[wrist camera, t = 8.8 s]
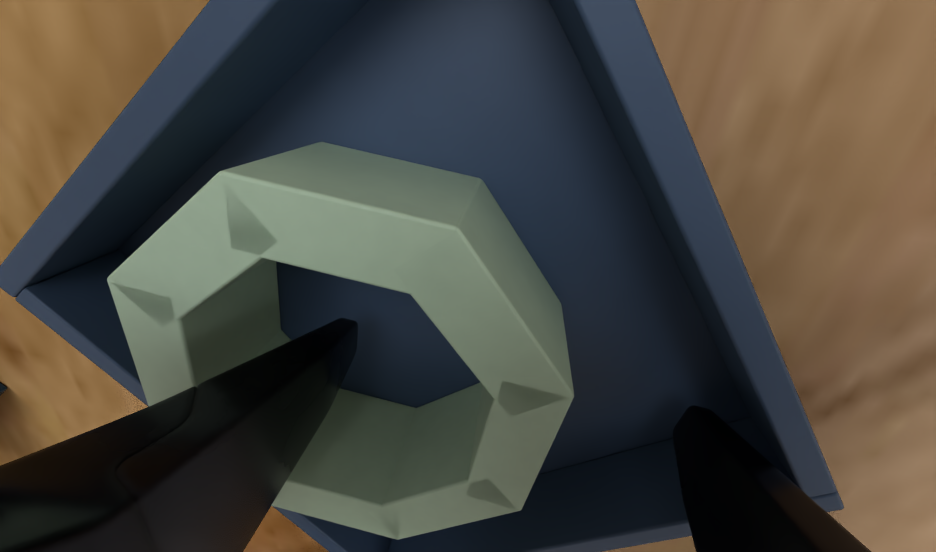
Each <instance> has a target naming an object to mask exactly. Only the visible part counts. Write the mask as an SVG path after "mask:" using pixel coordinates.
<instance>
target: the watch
mask: <svg viewBox="0 0 936 552" xmlns="http://www.w3.org/2000/svg"><path fill="white" fill-rule="evenodd" d="M6 389H7V387H5V386H4V385H2V384H1V383H0V395H1V394H2V393H3V392H4V391H5V390H6Z"/></svg>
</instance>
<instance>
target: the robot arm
mask: <svg viewBox="0 0 936 552" xmlns="http://www.w3.org/2000/svg"><path fill="white" fill-rule="evenodd" d="M357 339H358V323H357V322H356V321H354V320H350V319H346V318H339V319H336V320H334V321H332V322H330V323H328V324H326V325H324V326H322V327H319V328H317V329H315V330H313V331H311V332H309V333H307V334H304V335H302V336H300V337H298V338H296V339H294V340H292V341H289V342H287V343H285V344H283V345H281V346H279V347H277V348H274V349H272V350H270V351H268V352H266V353H264V354H262V355H260V356H257V357H255V358H253V359H251V360H249V361H247V362H245V363H242V364H240V365H238V366H236V367H234V368H232V369H230V370H227V371H225V372H223V373H221V374H219V375H217V376H215V377H212V378H210V379H208V380H206V381H204V382H202V383H200V384H198V385H197V387H196V386H193V387H191V388H189V389H187V390H184V391H182V392H180V393H178V394H176V395H174V396H171V397H169V398H167V399H165V400H163V401H160V402H158V403H156V404H154V405H151V406H149V407H147V408H145V409H142V410H140V411H138V412H135V413H133V414H130V415H128V416H125V417H123V418H120V419H118V420H116V421H113V422H111V423H108V424H106V425H103V426H101V427H98V428H96V429H93V430H91V431H88V432H85V433H83V434H80V435H78V436H75V437H73V438H70V439H68V440H65V441H63V442H60V443H57V444H55V445H52V446H50V447H47V448H45V449H42V450H40V451H37V452H35V453H32V454H30V455H27V456H24V457H22V458H19V459H17V460H14V461H12V462H9V463H7V464H4V465H1V466H0V552H243V551H244V549H245V548H246V546H247V544H248V543H249V541H250V539H251V538H252V536H253V535H254V533H255V531H256V530H257V528H258V526H259V525H260V523H261V521H262V520H263V518H264V517H265V515H266V513H267V512H268V510H269V508H270V507H271V505H272V504H273V502H274V500H275V499H276V497H277V495H278V494H279V492H280V490H281V489H282V487H283V486H284V484H285V482H286V481H287V479H288V477H289V476H290V474H291V472H292V471H293V469H294V468H295V466H296V464H297V463H298V461H299V459H300V458H301V456H302V454H303V453H304V451H305V450H306V448H307V446H308V445H309V443H310V441H311V440H312V438H313V437H314V435H315V433H316V432H317V430H318V428H319V427H320V425H321V423H322V422H323V420H324V418H325V417H326V415H327V413H328V412H329V410H330V408H331V406H332V404H333V402H334V399H335V397H336V395H337V393H338V391H339V389H340V387H341V384H342V382H343V380H344V378H345V376H346V374H347V371H348V369H349V367H350V365H351V363H352V361H353V359H354V356H355V354H356V350H357ZM673 443H674V449H675V455H676V461H677V467H678V474H679V480H680V486H681V492H682V497H683V502H684V507H685V511H686V515H687V519H688V522H689V526H690V530H691V534H692V537H693V541H694V545H695V549H696V552H871V551H870V550H869V549H868V548H866V547H865V546H864V545H863V544H862V543H861V542H860V541H859V540H857V539H856V538H855V537H854V536H853V535H852V534H851V533H850V532H848V531H847V530H846V529H845V528H844V527H843V526H842V525H841V524H839V523H838V522H837V521H836V520H835V519H834V518H833V517H831V516H830V515H829V514H828V513H827V512H826V511H825V510H824V509H822V508H821V507H820V506H819V505H818V504H817V503H816V502H815V501H813V500H812V499H811V498H810V497H809V496H808V495H807V494H806V493H804V492H803V491H802V490H801V489H800V488H799V487H798V486H796V485H795V484H794V483H793V482H792V481H791V480H790V479H789V478H787V477H786V476H785V475H784V474H783V473H782V472H781V471H780V470H778V469H777V468H776V467H775V466H774V465H773V464H772V463H771V462H769V461H768V460H767V459H766V458H765V457H764V456H763V455H762V454H760V453H759V452H758V451H757V450H756V449H755V448H754V447H753V446H751V445H750V444H749V443H748V442H747V441H746V440H745V439H743V438H742V437H741V436H740V435H739V434H738V433H737V432H736V431H734V430H733V429H732V428H731V427H730V426H729V425H728V424H727V423H725V422H724V421H723V420H722V419H721V418H720V417H719V416H718V415H716V414H715V413H714V412H713V411H712V410H710V409H708V408H704V407H700V406H696V405H691V406H689V407H688V408H687V409H686V411H685V412H684V414H683V415H682V417H681V418H680V420H679V421H678V422H677V424H676V425H675V427H674V430H673Z"/></svg>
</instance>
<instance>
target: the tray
mask: <svg viewBox="0 0 936 552" xmlns="http://www.w3.org/2000/svg"><path fill="white" fill-rule="evenodd" d="M318 142H325V143H329V144H334V145H338V146H342V147H347V148H351V149H355V150H360V151H364V152H368V153H373V154H377V155H381V156H386V157H390V158H394V159H399V160H403V161H407V162H412V163H416V164H420V165H425V166H429V167H433V168H438V169H442V170H446V171H451V172H455V173H459V174H464V175H468V176H472V177H477V178H480V179H482V180H483V181H484V183H485V185H486V186H487V188H488V189H489V191H490V192H491V194H492V196H493V197H494V199H495V200H496V202H497V203H498V205H499V207H500V208H501V210H502V211H503V213H504V214H505V216H506V218H507V219H508V221H509V222H510V224H511V225H512V227H513V229H514V230H515V232H516V233H517V235H518V236H519V238H520V240H521V241H522V243H523V244H524V246H525V247H526V249H527V251H528V252H529V254H530V255H531V257H532V258H533V260H534V262H535V263H536V265H537V266H538V268H539V269H540V271H541V273H542V274H543V276H544V277H545V279H546V280H547V282H548V284H549V285H550V287H551V288H552V290H553V291H554V293H555V295H556V296H557V298H558V299H559V301H560V302H561V305H562V312H563V319H564V326H565V333H566V341H567V348H568V355H569V362H570V369H571V376H572V383H573V390H574V398H573V400H572V402H571V404H570V406H569V409H568V411H567V413H566V415H565V417H564V419H563V421H562V424H561V426H560V428H559V430H558V432H557V434H556V436H555V439H554V441H553V443H552V445H551V447H550V449H549V452H548V454H547V456H546V458H545V460H544V462H543V464H542V467H541V469H540V471H539V473H538V475H537V477H536V479H535V482H534V484H533V486H532V488H531V490H530V492H529V495H528V497H527V499H526V501H525V503H524V505H523V507H522V510H521V511H517V512H512V513H508V514H504V515H500V516H495V517H491V518H487V519H483V520H479V521H474V522H470V523H466V524H462V525H458V526H453V527H449V528H445V529H441V530H437V531H432V532H428V533H424V534H420V535H415V536H411V537H407V538H403V539H399V540H396V539H393V538H389V537H385V536H382V535H378V534H374V533H371V532H367V531H363V530H360V529H356V528H352V527H348V526H345V525H341V524H337V523H334V522H330V521H326V520H323V519H319V518H315V517H312V516H308V515H304V514H301V513H297V512H293V511H290V510H286V509H282V508H279V507H275V506H273V507H274V508H276V509H277V510H278V511H279V512H281V513H282V514H283V515H284V516H286V517H287V518H288V519H289V520H291V521H292V522H293V523H294V524H296V525H297V526H298V527H299V528H301V529H302V530H303V531H304V532H306V533H307V534H308V535H309V536H310V537H312V538H313V539H314V540H315V541H317V542H318V543H319V544H320V545H322V546H323V547H324V548H325V549H327V550H328V551H329V552H602V551H607V550H613V549H619V548H625V547H630V546H636V545H642V544H647V543H653V542H659V541H664V540H670V539H676V538H682V537H687V536H692V534H691V530H690V526H689V522H688V519H687V515H686V511H685V507H684V502H683V497H682V492H681V486H680V480H679V474H678V467H677V461H676V455H675V449H674V443H673V430H674V427H675V425H676V424H677V422H678V421H679V420H680V418H681V417H682V415H683V414H684V412H685V411H686V409H687V408H688V407H689V406H691V405H696V406H700V407H704V408H708V409H710V410H712V411H713V412H714V413H715V414H716V415H718V416H719V417H720V418H721V419H722V420H723V421H724V422H725V423H727V424H728V425H729V426H730V427H731V428H732V429H733V430H734V431H736V432H737V433H738V434H739V435H740V436H741V437H742V438H743V439H745V440H746V441H747V442H748V443H749V444H750V445H751V446H753V447H754V448H755V449H756V450H757V451H758V452H759V453H760V454H762V455H763V456H764V457H765V458H766V459H767V460H768V461H769V462H771V463H772V464H773V465H774V466H775V467H776V468H777V469H778V470H780V471H781V472H782V473H783V474H784V475H785V476H786V477H787V478H789V479H790V480H791V481H792V482H793V483H794V484H795V485H796V486H798V487H799V488H800V489H801V490H802V491H803V492H804V493H806V494H807V495H808V496H809V497H810V498H811V499H812V500H813V501H815V502H816V503H817V504H818V505H819V506H820V507H821V508H822V509H824V510H825V511H826V512H830V511H836V510H841V509H843V508H844V506H843V503H842V501H841V498H840V496H839V493H838V491H837V489H836V486H835V484H834V481H833V479H832V476H831V474H830V471H829V469H828V467H827V464H826V462H825V459H824V457H823V454H822V452H821V450H820V447H819V445H818V442H817V440H816V437H815V435H814V433H813V430H812V428H811V425H810V423H809V421H808V418H807V416H806V413H805V411H804V408H803V406H802V404H801V401H800V399H799V396H798V394H797V391H796V389H795V387H794V384H793V382H792V379H791V377H790V374H789V372H788V370H787V367H786V365H785V362H784V360H783V357H782V355H781V353H780V350H779V348H778V345H777V343H776V341H775V338H774V336H773V333H772V331H771V328H770V326H769V324H768V321H767V319H766V316H765V314H764V311H763V309H762V307H761V304H760V302H759V299H758V297H757V294H756V292H755V290H754V287H753V285H752V282H751V280H750V277H749V275H748V273H747V270H746V268H745V265H744V263H743V261H742V258H741V256H740V253H739V251H738V248H737V246H736V244H735V241H734V239H733V236H732V234H731V231H730V229H729V227H728V224H727V222H726V219H725V217H724V214H723V212H722V210H721V207H720V205H719V202H718V200H717V197H716V195H715V193H714V190H713V188H712V185H711V183H710V181H709V178H708V176H707V173H706V171H705V168H704V166H703V164H702V161H701V159H700V156H699V154H698V151H697V149H696V147H695V144H694V142H693V139H692V137H691V134H690V132H689V130H688V127H687V125H686V122H685V120H684V117H683V115H682V113H681V110H680V108H679V105H678V103H677V100H676V98H675V96H674V93H673V91H672V88H671V86H670V84H669V81H668V79H667V76H666V74H665V71H664V69H663V67H662V64H661V62H660V59H659V57H658V54H657V52H656V50H655V47H654V45H653V42H652V40H651V37H650V35H649V33H648V30H647V28H646V25H645V23H644V20H643V18H642V16H641V13H640V11H639V8H638V6H637V4H636V1H635V0H210V1H209V2H208V3H207V5H206V6H205V7H204V8H203V10H202V11H201V12H200V13H199V15H198V16H197V17H196V19H195V20H194V21H193V22H192V24H191V25H190V26H189V27H188V29H187V30H186V31H185V32H184V34H183V35H182V36H181V38H180V39H179V40H178V41H177V43H176V44H175V45H174V46H173V48H172V49H171V50H170V51H169V53H168V54H167V55H166V57H165V58H164V59H163V60H162V62H161V63H160V64H159V65H158V67H157V68H156V69H155V70H154V72H153V73H152V74H151V76H150V77H149V78H148V79H147V81H146V82H145V83H144V84H143V86H142V87H141V88H140V89H139V91H138V92H137V93H136V95H135V96H134V97H133V98H132V100H131V101H130V102H129V103H128V105H127V106H126V107H125V108H124V110H123V111H122V112H121V114H120V115H119V116H118V117H117V119H116V120H115V121H114V122H113V124H112V125H111V126H110V127H109V129H108V130H107V131H106V133H105V134H104V135H103V136H102V138H101V139H100V140H99V141H98V143H97V144H96V145H95V146H94V148H93V149H92V150H91V152H90V153H89V154H88V155H87V157H86V158H85V159H84V160H83V162H82V163H81V164H80V165H79V167H78V168H77V169H76V171H75V172H74V173H73V174H72V176H71V177H70V178H69V179H68V181H67V182H66V183H65V184H64V186H63V187H62V188H61V190H60V191H59V192H58V193H57V195H56V196H55V197H54V198H53V200H52V201H51V202H50V203H49V205H48V206H47V207H46V209H45V210H44V211H43V212H42V214H41V215H40V216H39V217H38V219H37V220H36V221H35V222H34V224H33V225H32V226H31V228H30V229H29V230H28V231H27V233H26V234H25V235H24V236H23V238H22V239H21V240H20V241H19V243H18V244H17V245H16V247H15V248H14V249H13V250H12V252H11V253H10V254H9V255H8V257H7V258H6V259H5V260H4V262H3V263H2V264H1V266H0V287H1V288H2V289H3V290H4V291H6V292H7V293H8V294H9V295H11V296H12V297H16V298H15V299H16V301H17V302H19V303H20V304H21V305H22V306H24V307H25V308H26V309H27V310H29V311H30V312H31V313H32V314H34V315H35V316H36V317H37V318H39V319H40V320H41V321H42V322H44V323H45V324H46V325H47V326H49V327H50V328H51V329H52V330H54V331H55V332H56V333H57V334H59V335H60V336H61V337H62V338H63V339H65V340H66V341H67V342H68V343H70V344H71V345H72V346H73V347H75V348H76V349H77V350H78V351H80V352H81V353H82V354H83V355H85V356H86V357H87V358H88V359H90V360H91V361H92V362H93V363H95V364H96V365H97V366H98V367H100V368H101V369H102V370H103V371H105V372H106V373H107V374H108V375H110V376H111V377H112V378H113V379H115V380H116V381H117V382H118V383H120V384H121V385H122V386H123V387H125V388H126V389H127V390H128V391H130V392H131V393H132V394H133V395H135V396H136V397H137V398H138V399H140V400H141V401H142V402H143V403H145V404H146V405H147V406H148V403H147V400H146V397H145V394H144V391H143V388H142V385H141V382H140V379H139V376H138V372H137V369H136V366H135V363H134V360H133V357H132V354H131V351H130V348H129V345H128V342H127V339H126V336H125V333H124V330H123V327H122V324H121V321H120V318H119V315H118V312H117V309H116V306H115V303H114V300H113V297H112V294H111V291H110V288H109V285H108V282H107V278H108V277H109V275H111V274H112V273H113V272H114V271H115V270H116V269H117V268H118V267H119V266H120V265H121V264H122V263H123V262H124V261H125V260H126V259H127V258H128V257H130V256H131V255H132V254H133V253H134V252H135V251H136V250H137V249H138V248H139V247H140V246H141V245H142V244H143V243H144V242H145V241H146V240H147V239H149V238H150V237H151V236H152V235H153V234H154V233H155V232H156V231H157V230H158V229H159V228H160V227H161V226H162V225H163V224H164V223H165V222H166V221H168V220H169V219H170V218H171V217H172V216H173V215H174V214H175V213H176V212H177V211H178V210H179V209H180V208H181V207H182V206H183V205H184V204H185V203H187V202H188V201H189V200H190V199H191V198H192V197H193V196H194V195H195V194H196V193H197V192H198V191H199V190H200V189H201V188H202V187H203V186H204V185H206V184H207V183H208V182H209V181H210V180H211V179H212V178H213V177H214V176H215V175H216V174H217V173H218V172H219V171H222V170H226V169H229V168H233V167H236V166H240V165H243V164H246V163H250V162H253V161H257V160H260V159H264V158H267V157H270V156H274V155H277V154H281V153H284V152H287V151H291V150H294V149H298V148H301V147H305V146H308V145H311V144H315V143H318ZM276 266H277V280H278V294H279V309H280V323H281V330H282V331H283V332H284V333H285V334H286V335H287V336H288V337H289V338H290V339H291V340H294V339H296V338H298V337H300V336H302V335H304V334H307V333H309V332H311V331H313V330H315V329H317V328H319V327H322V326H324V325H326V324H328V323H330V322H332V321H334V320H336V319H339V318H346V319H350V320H354V321H356V322H357V323H358V339H357V350H356V354H355V356H354V359H353V361H352V363H351V365H350V367H349V369H348V371H347V374H346V376H345V378H344V380H343V382H342V384H341V387H340V389H344V390H348V391H352V392H356V393H360V394H364V395H368V396H371V397H375V398H379V399H383V400H387V401H391V402H395V403H399V404H403V405H406V406H410V407H414V408H418V407H420V406H423V405H425V404H428V403H430V402H433V401H435V400H438V399H440V398H443V397H445V396H448V395H450V394H453V393H455V392H458V391H460V390H463V389H465V388H468V387H470V386H473V385H475V384H477V383H480V381H479V380H478V378H477V377H476V376H475V375H474V373H473V372H472V371H471V370H470V368H469V367H468V366H467V365H466V363H465V362H464V361H463V360H462V358H461V357H460V356H459V355H458V353H457V352H456V351H455V350H454V348H453V347H452V346H451V345H450V343H449V342H448V341H447V339H446V338H445V337H444V336H443V334H442V333H441V332H440V331H439V329H438V328H437V327H436V326H435V324H434V323H433V322H432V321H431V319H430V318H429V317H428V316H427V314H426V313H425V312H424V311H423V309H422V308H421V307H420V306H419V304H418V303H417V302H416V301H415V299H414V298H413V297H412V296H411V294H408V293H404V292H400V291H395V290H391V289H387V288H383V287H379V286H375V285H371V284H367V283H363V282H359V281H355V280H351V279H346V278H342V277H338V276H334V275H330V274H326V273H322V272H318V271H314V270H310V269H306V268H302V267H297V266H293V265H289V264H285V263H281V262H277V261H276ZM148 407H149V406H148Z"/></svg>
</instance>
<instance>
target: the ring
mask: <svg viewBox="0 0 936 552" xmlns="http://www.w3.org/2000/svg"><path fill="white" fill-rule="evenodd" d="M276 261H277V262H281V263H285V264H289V265H293V266H297V267H302V268H306V269H310V270H314V271H318V272H322V273H326V274H330V275H334V276H338V277H342V278H346V279H351V280H355V281H359V282H363V283H367V284H371V285H375V286H379V287H383V288H387V289H391V290H395V291H400V292H404V293H408V294H411V296H412V297H413V298H414V299H415V301H416V302H417V303H418V304H419V306H420V307H421V308H422V309H423V311H424V312H425V313H426V314H427V316H428V317H429V318H430V319H431V321H432V322H433V323H434V324H435V326H436V327H437V328H438V329H439V331H440V332H441V333H442V334H443V336H444V337H445V338H446V339H447V341H448V342H449V343H450V345H451V346H452V347H453V348H454V350H455V351H456V352H457V353H458V355H459V356H460V357H461V358H462V360H463V361H464V362H465V363H466V365H467V366H468V367H469V368H470V370H471V371H472V372H473V373H474V375H475V376H476V377H477V378H478V380H479V381H480V383H477V384H475V385H473V386H470V387H468V388H465V389H463V390H460V391H458V392H455V393H453V394H450V395H448V396H445V397H443V398H440V399H438V400H435V401H433V402H430V403H428V404H425V405H423V406H420V407H418V408H414V407H410V406H406V405H403V404H399V403H395V402H391V401H387V400H383V399H379V398H375V397H371V396H368V395H364V394H360V393H356V392H352V391H348V390H344V389H339V391H338V393H337V395H336V397H335V399H334V402H333V404H332V406H331V408H330V410H329V412H328V413H327V415H326V417H325V418H324V420H323V422H322V423H321V425H320V427H319V428H318V430H317V432H316V433H315V435H314V437H313V438H312V440H311V441H310V443H309V445H308V446H307V448H306V450H305V451H304V453H303V454H302V456H301V458H300V459H299V461H298V463H297V464H296V466H295V468H294V469H293V471H292V472H291V474H290V476H289V477H288V479H287V481H286V482H285V484H284V486H283V487H282V489H281V490H280V492H279V494H278V495H277V497H276V499H275V500H274V502H273V504H272V505H271V506H275V507H279V508H282V509H286V510H290V511H293V512H297V513H301V514H304V515H308V516H312V517H315V518H319V519H323V520H326V521H330V522H334V523H337V524H341V525H345V526H348V527H352V528H356V529H360V530H363V531H367V532H371V533H374V534H378V535H382V536H385V537H389V538H393V539H396V540H399V539H403V538H407V537H411V536H415V535H420V534H424V533H428V532H432V531H437V530H441V529H445V528H449V527H453V526H458V525H462V524H466V523H470V522H474V521H479V520H483V519H487V518H491V517H495V516H500V515H504V514H508V513H512V512H517V511H521V510H522V507H523V505H524V503H525V501H526V499H527V497H528V495H529V492H530V490H531V488H532V486H533V484H534V482H535V479H536V477H537V475H538V473H539V471H540V469H541V467H542V464H543V462H544V460H545V458H546V456H547V454H548V452H549V449H550V447H551V445H552V443H553V441H554V439H555V436H556V434H557V432H558V430H559V428H560V426H561V424H562V421H563V419H564V417H565V415H566V413H567V411H568V409H569V406H570V404H571V402H572V400H573V398H574V390H573V383H572V376H571V369H570V362H569V355H568V348H567V341H566V333H565V326H564V319H563V312H562V305H561V302H560V301H559V299H558V298H557V296H556V295H555V293H554V291H553V290H552V288H551V287H550V285H549V284H548V282H547V280H546V279H545V277H544V276H543V274H542V273H541V271H540V269H539V268H538V266H537V265H536V263H535V262H534V260H533V258H532V257H531V255H530V254H529V252H528V251H527V249H526V247H525V246H524V244H523V243H522V241H521V240H520V238H519V236H518V235H517V233H516V232H515V230H514V229H513V227H512V225H511V224H510V222H509V221H508V219H507V218H506V216H505V214H504V213H503V211H502V210H501V208H500V207H499V205H498V203H497V202H496V200H495V199H494V197H493V196H492V194H491V192H490V191H489V189H488V188H487V186H486V185H485V183H484V181H483V180H482V179H480V178H477V177H472V176H468V175H464V174H459V173H455V172H451V171H446V170H442V169H438V168H433V167H429V166H425V165H420V164H416V163H412V162H407V161H403V160H399V159H394V158H390V157H386V156H381V155H377V154H373V153H368V152H364V151H360V150H355V149H351V148H347V147H342V146H338V145H334V144H329V143H325V142H318V143H315V144H311V145H308V146H305V147H301V148H298V149H294V150H291V151H287V152H284V153H281V154H277V155H274V156H270V157H267V158H264V159H260V160H257V161H253V162H250V163H246V164H243V165H240V166H236V167H233V168H229V169H226V170H222V171H219V172H218V173H217V174H216V175H215V176H214V177H213V178H212V179H211V180H210V181H209V182H208V183H207V184H206V185H204V186H203V187H202V188H201V189H200V190H199V191H198V192H197V193H196V194H195V195H194V196H193V197H192V198H191V199H190V200H189V201H188V202H187V203H185V204H184V205H183V206H182V207H181V208H180V209H179V210H178V211H177V212H176V213H175V214H174V215H173V216H172V217H171V218H170V219H169V220H168V221H166V222H165V223H164V224H163V225H162V226H161V227H160V228H159V229H158V230H157V231H156V232H155V233H154V234H153V235H152V236H151V237H150V238H149V239H147V240H146V241H145V242H144V243H143V244H142V245H141V246H140V247H139V248H138V249H137V250H136V251H135V252H134V253H133V254H132V255H131V256H130V257H128V258H127V259H126V260H125V261H124V262H123V263H122V264H121V265H120V266H119V267H118V268H117V269H116V270H115V271H114V272H113V273H112V274H111V275H109V277H108V278H107V282H108V285H109V288H110V291H111V294H112V297H113V300H114V303H115V306H116V309H117V312H118V315H119V318H120V321H121V324H122V327H123V330H124V333H125V336H126V339H127V342H128V345H129V348H130V351H131V354H132V357H133V360H134V363H135V366H136V369H137V372H138V376H139V379H140V382H141V385H142V388H143V391H144V394H145V397H146V400H147V403H148V406H151V405H154V404H156V403H158V402H160V401H163V400H165V399H167V398H169V397H171V396H174V395H176V394H178V393H180V392H182V391H184V390H187V389H189V388H191V387H193V386H196V387H197V385H198V384H200V383H202V382H204V381H206V380H208V379H210V378H212V377H215V376H217V375H219V374H221V373H223V372H225V371H227V370H230V369H232V368H234V367H236V366H238V365H240V364H242V363H245V362H247V361H249V360H251V359H253V358H255V357H257V356H260V355H262V354H264V353H266V352H268V351H270V350H272V349H274V348H277V347H279V346H281V345H283V344H285V343H287V342H289V341H292V340H291V339H290V338H289V337H288V336H287V335H286V334H285V333H284V332H283V331H282V330H281V323H280V309H279V294H278V280H277V266H276Z"/></svg>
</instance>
